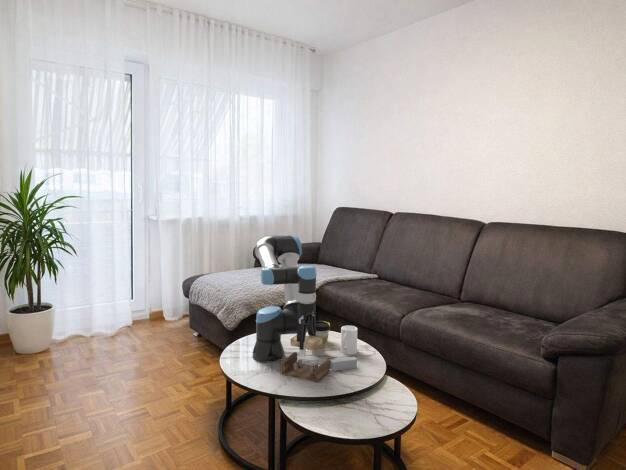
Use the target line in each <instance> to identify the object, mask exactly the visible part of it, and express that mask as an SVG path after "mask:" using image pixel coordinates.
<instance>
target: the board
mask: <svg viewBox="0 0 626 470" xmlns="http://www.w3.org/2000/svg"><path fill="white" fill-rule="evenodd" d="M305 342H306V350H307V349H311V350H317V349H318V348H319V347H320V346H322V338H317V337H312V336H308V335H306V336H305ZM290 346H291V347H295V348H299V342H297V334H295V335H294V336H293V337H292V338H290Z"/></svg>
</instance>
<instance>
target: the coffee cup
mask: <svg viewBox="0 0 626 470" xmlns="http://www.w3.org/2000/svg"><path fill="white" fill-rule="evenodd" d="M328 323H329V322H328ZM328 323H327V321H325V322H324V320H316V333H314V334H316V336H313V337H317V338H322V346H320V347H319V348H318V349H317V350H313V351H311V354H312V355H313V356H317V357H321V356H324V355H325V354H326V349H327V345H328V340H329V333H330V331H329V329H330V330H331V325H330V326H329V324H328Z"/></svg>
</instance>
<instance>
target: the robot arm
mask: <svg viewBox="0 0 626 470" xmlns="http://www.w3.org/2000/svg"><path fill="white" fill-rule="evenodd" d="M302 247H303V246H302V242H301V239H300V238H299V236H297V235H291V234H288V235H266V236H265V237H263V238H261V239H259V240H258V241H257V243H256V245H255V247H254V255H255V256H256V258H257V259H259V263H260V265H261V271H260V283H261V284H262V285H264V286H273V285H275V286H276V285H283V290H284V298H285V299H284V300H285V304H284V306H283V308H281V307H280V306H277V305H276V306H274V305H271V306H266V307H263V308H260V309H259V310H258V311H257V312H256V316H255V317H256V319H255V322H256V323H255V324H256V325H255V326H256V327H255V329H256V332H255V333H256V335H255V337H256V341H255V343H254V347H253V349H252V358H253V359H254V360H255V361H257V362H261V363H273V362H279V361H281V360H282V359H284V358H285V350H284V346H283V344H282V343H283V342H282V338H281V336H282V335H294V334H295V335H297V342H299V347H298V349H299V350H298V351H299V355H298V357H303V358H305V357H306V354H307V353H306V352H307V351H311V352H312V351H313V350H311V349H306V342H305V336H312V337H313V336H316V334H314V333H316V321H317V319H316V315H317V311H316V310H317V309H316V305H317V304H316V301H317V300H316V298H317V292H316V289H317V269H316V267H315V266H314V265H309V264H307V265H301V264H300V265H299V264H298V261H299V260H300V257H301V256H302V254H303V249H302ZM276 258H277V259H276ZM279 263H280V265H279ZM280 266H281V267H280ZM307 334H308V335H307ZM306 350H307V351H306Z"/></svg>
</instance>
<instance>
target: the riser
mask: <svg viewBox="0 0 626 470" xmlns="http://www.w3.org/2000/svg"><path fill="white" fill-rule="evenodd" d="M357 367H358V359H357V357H355V356H350V357H343V358H336V359H335V358H334V359H330V371H332V372H335V371H343V370H350V369H355V368H356V369H357Z"/></svg>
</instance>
